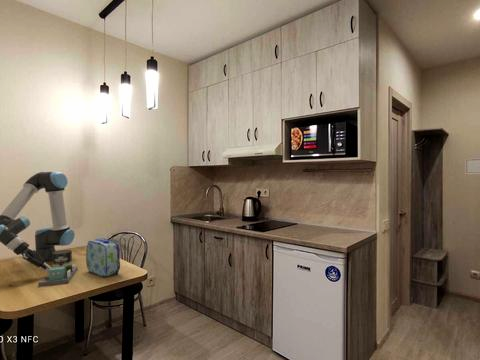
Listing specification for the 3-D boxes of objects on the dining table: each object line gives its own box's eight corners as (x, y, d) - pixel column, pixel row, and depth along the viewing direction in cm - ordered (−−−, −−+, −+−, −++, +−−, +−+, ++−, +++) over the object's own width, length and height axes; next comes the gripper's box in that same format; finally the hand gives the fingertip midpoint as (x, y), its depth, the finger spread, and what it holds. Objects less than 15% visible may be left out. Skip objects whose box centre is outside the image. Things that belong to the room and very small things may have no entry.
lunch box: (122, 274, 173) (122, 240, 173) (105, 279, 164) (104, 243, 164) (101, 267, 189) (100, 235, 188) (84, 271, 180) (84, 238, 180)
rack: (52, 272, 179) (51, 264, 179) (77, 269, 183) (77, 261, 183) (38, 286, 156) (38, 277, 155) (67, 283, 160) (67, 273, 160)
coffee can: (71, 275, 172) (70, 252, 172) (51, 278, 168) (50, 254, 168) (73, 270, 182) (72, 248, 181) (54, 273, 177) (53, 250, 177)
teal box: (51, 280, 165) (51, 267, 165) (65, 278, 167) (65, 266, 167) (48, 283, 160) (48, 270, 160) (63, 282, 162) (62, 269, 162)
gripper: (17, 248, 172) (49, 272, 178) (7, 253, 160) (42, 279, 165) (28, 239, 174) (59, 263, 179) (19, 243, 162) (53, 269, 167)
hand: (51, 271), depth 172 cm, fingers closed
